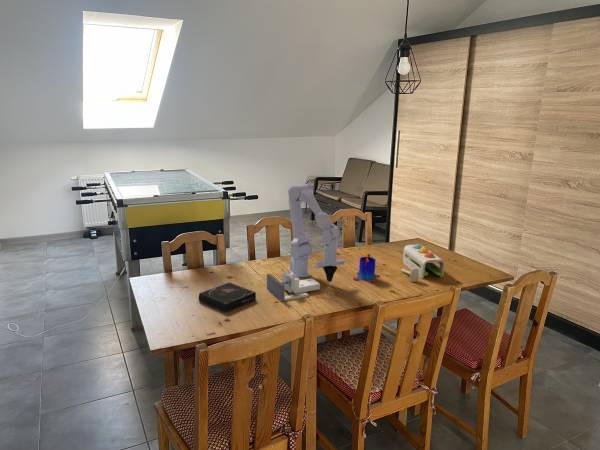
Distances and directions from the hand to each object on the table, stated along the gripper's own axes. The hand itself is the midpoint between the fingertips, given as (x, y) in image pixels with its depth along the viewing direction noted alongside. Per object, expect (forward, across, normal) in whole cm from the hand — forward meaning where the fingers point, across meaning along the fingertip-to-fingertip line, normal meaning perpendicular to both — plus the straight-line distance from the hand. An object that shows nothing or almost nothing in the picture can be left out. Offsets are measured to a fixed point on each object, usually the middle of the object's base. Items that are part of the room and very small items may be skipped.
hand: (329, 280), depth 211 cm
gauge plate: (+1, -22, -1) cm, 22 cm away
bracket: (+2, -14, 0) cm, 14 cm away
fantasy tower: (+2, +21, 0) cm, 21 cm away
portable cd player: (+3, -48, +3) cm, 48 cm away
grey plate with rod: (+2, -22, 0) cm, 22 cm away
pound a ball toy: (+2, +50, -4) cm, 50 cm away
